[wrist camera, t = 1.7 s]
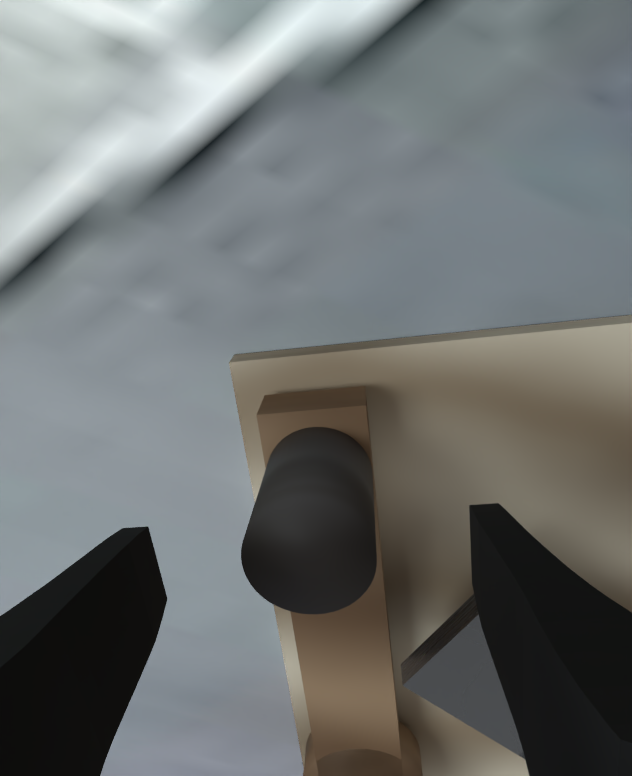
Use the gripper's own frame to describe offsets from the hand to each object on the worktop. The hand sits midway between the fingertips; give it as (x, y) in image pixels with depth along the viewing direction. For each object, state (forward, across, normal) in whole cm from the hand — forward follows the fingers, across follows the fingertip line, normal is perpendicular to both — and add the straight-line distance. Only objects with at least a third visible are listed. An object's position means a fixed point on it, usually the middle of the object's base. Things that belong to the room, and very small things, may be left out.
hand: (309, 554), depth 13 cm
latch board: (+6, -4, +7) cm, 10 cm away
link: (+5, 0, +7) cm, 8 cm away
